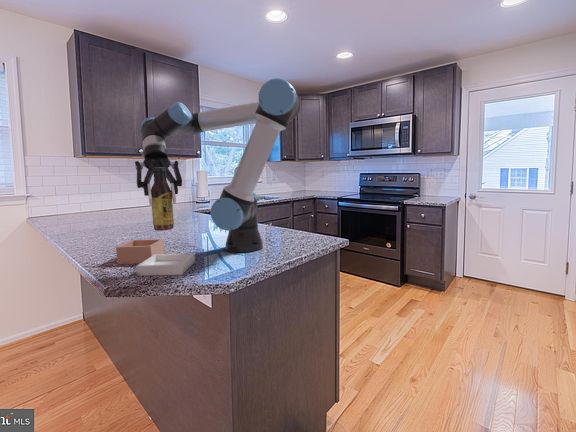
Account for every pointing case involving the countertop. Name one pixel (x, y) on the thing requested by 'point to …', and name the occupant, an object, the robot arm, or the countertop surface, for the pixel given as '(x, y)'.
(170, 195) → the sauce bottle
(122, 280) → the countertop surface
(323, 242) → the countertop surface
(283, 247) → the countertop surface
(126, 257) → the holder
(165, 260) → the tray
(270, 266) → the countertop surface
